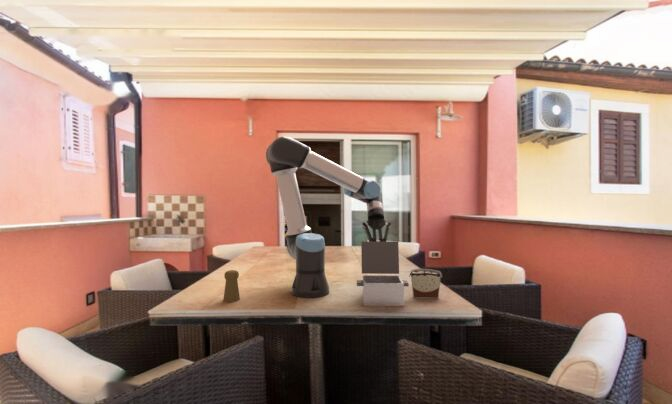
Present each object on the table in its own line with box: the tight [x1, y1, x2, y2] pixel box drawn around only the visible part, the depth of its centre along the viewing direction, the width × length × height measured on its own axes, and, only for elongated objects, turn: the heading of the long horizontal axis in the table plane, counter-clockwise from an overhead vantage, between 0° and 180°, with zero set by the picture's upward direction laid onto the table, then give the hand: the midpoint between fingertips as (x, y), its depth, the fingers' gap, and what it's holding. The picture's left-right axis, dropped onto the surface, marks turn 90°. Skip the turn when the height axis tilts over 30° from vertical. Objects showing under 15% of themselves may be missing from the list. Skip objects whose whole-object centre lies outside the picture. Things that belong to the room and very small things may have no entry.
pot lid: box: [360, 241, 400, 275], centre depth 126 cm, size 15×12×1 cm
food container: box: [408, 268, 443, 299], centre depth 125 cm, size 12×6×10 cm, turn 84°
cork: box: [222, 269, 241, 303], centre depth 121 cm, size 6×6×11 cm
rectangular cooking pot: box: [356, 274, 410, 307], centre depth 119 cm, size 19×12×8 cm, turn 88°
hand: (379, 254), depth 131 cm, fingers closed
